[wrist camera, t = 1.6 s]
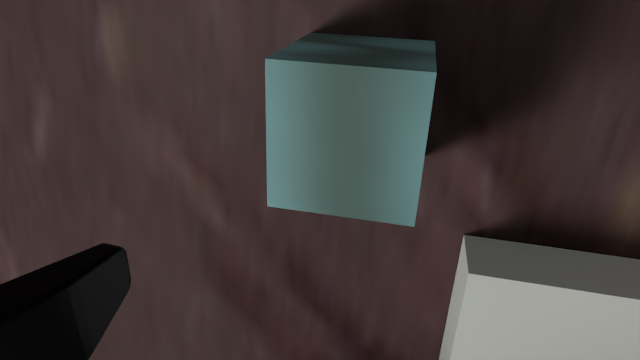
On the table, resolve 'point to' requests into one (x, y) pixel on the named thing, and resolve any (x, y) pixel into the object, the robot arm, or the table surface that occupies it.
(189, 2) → the table surface
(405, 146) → the teal block
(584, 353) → the base block
